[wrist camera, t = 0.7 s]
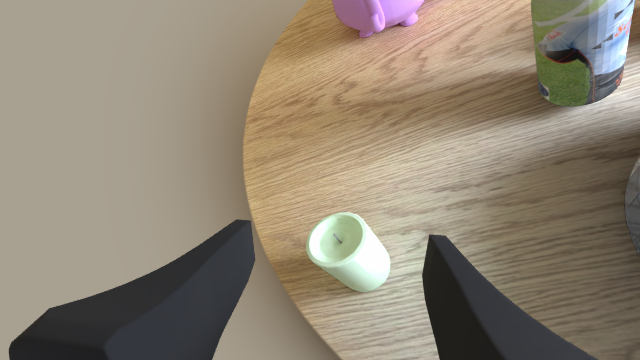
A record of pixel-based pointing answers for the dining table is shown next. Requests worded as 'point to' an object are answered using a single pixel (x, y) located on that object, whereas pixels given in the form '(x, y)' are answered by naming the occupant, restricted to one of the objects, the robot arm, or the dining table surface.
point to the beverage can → (580, 48)
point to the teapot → (376, 14)
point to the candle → (349, 251)
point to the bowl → (633, 205)
